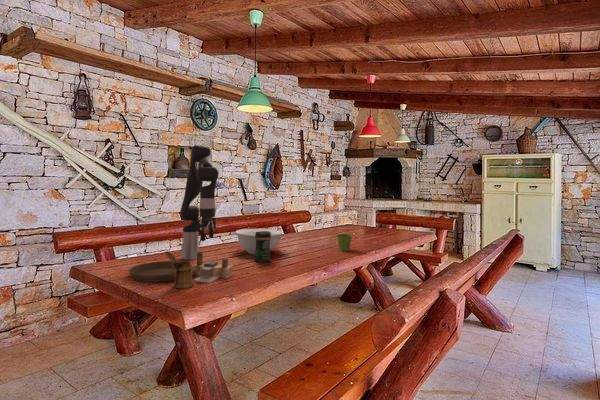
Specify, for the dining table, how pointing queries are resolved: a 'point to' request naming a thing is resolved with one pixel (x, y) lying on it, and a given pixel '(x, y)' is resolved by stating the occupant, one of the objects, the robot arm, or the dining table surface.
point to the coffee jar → (262, 246)
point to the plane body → (218, 270)
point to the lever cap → (206, 273)
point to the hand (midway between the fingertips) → (207, 239)
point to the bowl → (249, 241)
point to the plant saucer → (153, 271)
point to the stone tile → (206, 279)
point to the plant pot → (344, 241)
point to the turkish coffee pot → (181, 273)
